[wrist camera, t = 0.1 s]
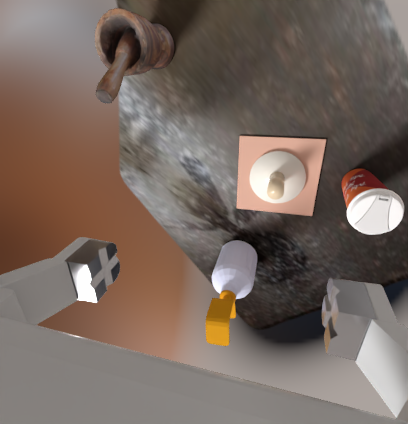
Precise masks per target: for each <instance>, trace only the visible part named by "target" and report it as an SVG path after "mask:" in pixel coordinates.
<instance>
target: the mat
mask: <svg viewBox="0 0 408 424" xmlns="http://www.w3.org/2000/svg"><path fill="white" fill-rule="evenodd" d="M325 144H326V139H311V138H287V137H262V136H240V142H239V166H238V189H237V208H239V209H249V210H258V211H268V212H277V213H287V214H297V215H306V216H312V214H313V209H314V203H315V198H316V192H317V187H318V182H319V176H320V171H321V165H322V160H323V155H324V149H325ZM271 151H285V152H289V153H291V154H293V155H295V156H296V157H297V158H298V159H299V160H300V161H301V162H302V164H303V166H304V168H305V173H306V181H305V185H304V187H303V189H302V191H301V192H300V194H299V195H298V196H296V197H295V198H294V199H292V200H290V201H288V202H284V203H270V202H267V201H264V200H262V199H261V198H259V197H258V196H257V195H256V194H255V193H254V191H253V190H252V187H251V185H250V171H251V168H252V166H253V164H254V163H255V161H256V160H257V159H258V158H259V157H261V156H262V155H264V154H266V153H268V152H271Z"/></svg>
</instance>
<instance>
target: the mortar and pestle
mask: <svg viewBox="0 0 408 424" xmlns="http://www.w3.org/2000/svg"><path fill="white" fill-rule="evenodd" d="M95 45H96V49H97V52H98V55H99V56H100V59H101V61H102V62H103V63H104V64H105V66H106V67H107V68H108V69H109V70H108V71H107V72H106V74H105V75H104V76H103V78H102V79H101V81H100V82H99V84H98V86H97V90H96V96H97V98H98V99H99V100H100V101H101V102H103V103H112V101H113V100H114V99H115V98H116V96H117V95H118V92H119V90H120V86H121V83H122V79H123V76H129V75H136V74H142V73H145V72H147V71H149V70H150V69H162V68H165V67H166V66H167V65H168V64H169V63H170V62H171V60H172V57H173V55H174V42H173V39H172V36H171V34H170V33H169V31H168V30H167V29H166V28H165V27H164V26H162V25H160V24H158V23H156V24H151V23H150V22H149V21H148V20H147V19H145V18H144V17H142V16H140V15H138V14H136V13H132V12H130V11H127V10H124V9H120V8H119V9H118V8H115V9H111V10H109V11H108V12H107V13H105V14H104V15H103V16H102V17H101V19H100V20H99V22H98V24H97V27H96V31H95Z"/></svg>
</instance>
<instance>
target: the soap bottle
mask: <svg viewBox="0 0 408 424" xmlns="http://www.w3.org/2000/svg"><path fill="white" fill-rule="evenodd" d="M256 265H257V253H256V251H255V249H254V248H253V247H252V246H251V245H250V244H248V243H246V242H244V241H239V240H235V241H230V242H228V243H226V244H225V245H224V246H223V247H222V249H221V252H220V255H219V257H218V260H217V263H216V265H215V268H214V271H213V274H212V282H213V286H214V288H215V289H216V291H217V292H218V293H220V299H218V298H212V301H211V304H210V307H209V310H208V313H207V316H206V340H207V342H208V343H210V344H216V345H223V346H227V345H229V320H230V318H235V317H236V309H235V300H236V299H240V298H242V297H245V296H246V295H247V294H248V293H249V292H250V291H251V289H252V287H253V283H254V277H255V271H256Z"/></svg>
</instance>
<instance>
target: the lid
mask: <svg viewBox="0 0 408 424" xmlns="http://www.w3.org/2000/svg"><path fill="white" fill-rule="evenodd" d="M305 181H306V173H305V168H304V166H303V164H302V162H301V161H300V160H299V159H298V158H297V157H296V156H295V155H293V154H291V153H289V152H285V151H271V152H268V153H266V154H264V155H262V156H261V157H259V158H258V159H257V160H256V161H255V163H254V164H253V166H252V168H251V171H250V185H251V187H252V190H253V191H254V193H255V194H256V195H257V196H258V197H259V198H261V199H262V200H264V201H267V202H270V203H284V202H288V201H290V200H292V199H294V198H295V197H296V196H298V195H299V194H300V192H301V191H302V189H303V187H304V185H305Z"/></svg>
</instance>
